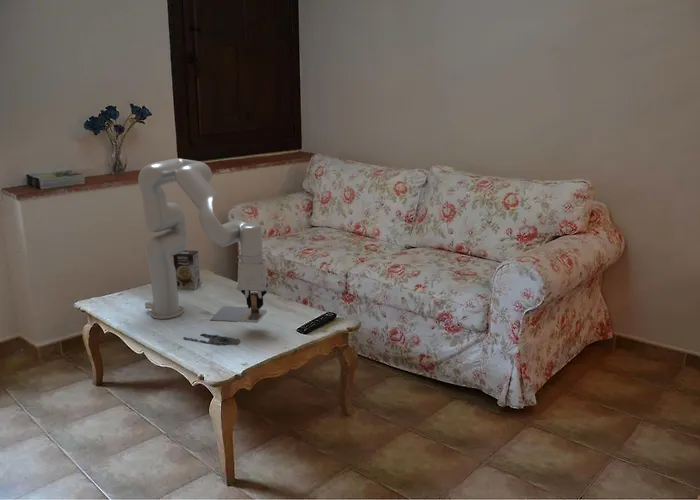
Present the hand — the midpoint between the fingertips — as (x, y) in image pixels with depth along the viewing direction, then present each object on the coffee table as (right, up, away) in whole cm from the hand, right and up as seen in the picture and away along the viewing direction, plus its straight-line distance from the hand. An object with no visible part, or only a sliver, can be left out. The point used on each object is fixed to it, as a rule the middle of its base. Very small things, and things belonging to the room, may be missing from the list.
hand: (255, 306), depth 233 cm
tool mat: (-12, -4, +18) cm, 22 cm away
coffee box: (-36, +4, +49) cm, 61 cm away
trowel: (-1, -4, -2) cm, 4 cm away
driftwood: (-14, -12, -5) cm, 19 cm away
